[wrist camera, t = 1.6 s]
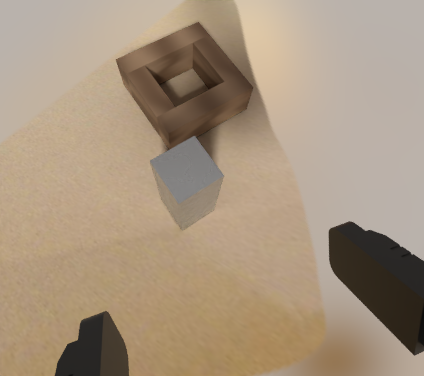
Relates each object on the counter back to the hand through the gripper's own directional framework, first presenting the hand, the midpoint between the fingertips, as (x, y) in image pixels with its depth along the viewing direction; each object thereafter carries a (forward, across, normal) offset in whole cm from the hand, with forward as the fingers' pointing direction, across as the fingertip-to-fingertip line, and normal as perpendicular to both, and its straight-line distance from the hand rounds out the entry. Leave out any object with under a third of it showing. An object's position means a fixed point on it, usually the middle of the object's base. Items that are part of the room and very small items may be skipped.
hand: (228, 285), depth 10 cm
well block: (+34, -6, -1) cm, 34 cm away
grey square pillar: (+23, -1, +10) cm, 25 cm away
